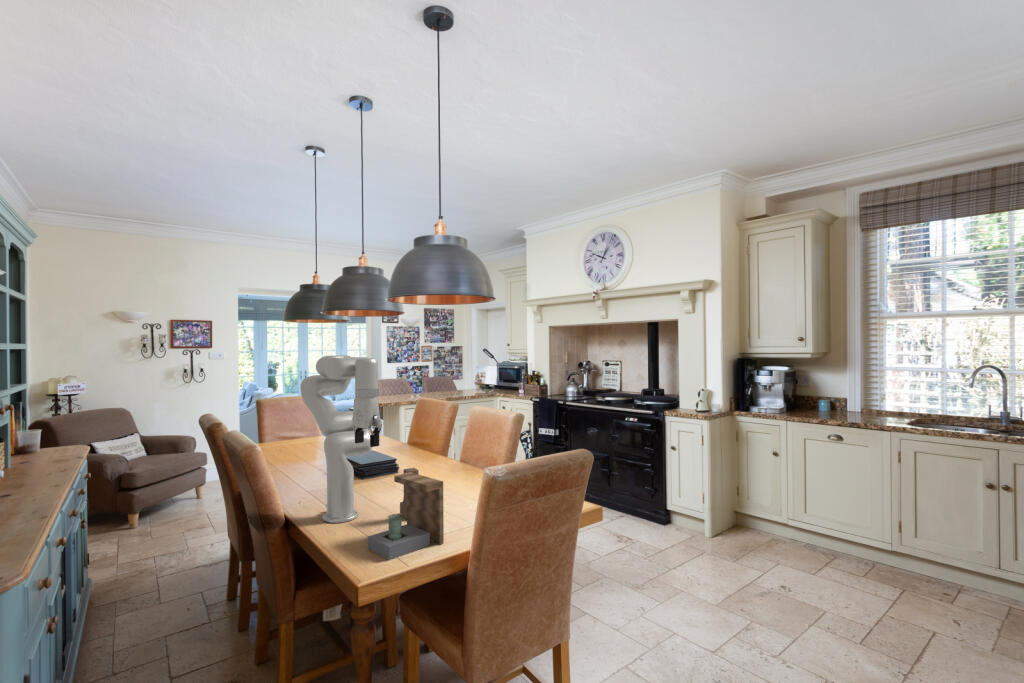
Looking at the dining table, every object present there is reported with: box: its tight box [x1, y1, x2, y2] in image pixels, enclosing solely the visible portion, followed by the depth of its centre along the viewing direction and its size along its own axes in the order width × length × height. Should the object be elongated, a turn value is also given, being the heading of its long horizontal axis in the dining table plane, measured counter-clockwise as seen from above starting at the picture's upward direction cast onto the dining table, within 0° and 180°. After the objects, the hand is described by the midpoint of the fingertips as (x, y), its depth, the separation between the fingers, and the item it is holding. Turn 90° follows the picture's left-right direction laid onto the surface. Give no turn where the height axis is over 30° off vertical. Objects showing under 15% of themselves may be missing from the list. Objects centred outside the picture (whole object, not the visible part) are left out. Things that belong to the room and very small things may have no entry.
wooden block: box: [399, 467, 420, 520], centre depth 190 cm, size 9×4×18 cm, turn 31°
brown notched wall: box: [393, 472, 445, 545], centre depth 168 cm, size 18×6×20 cm, turn 47°
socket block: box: [367, 523, 431, 561], centre depth 161 cm, size 12×15×4 cm
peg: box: [387, 514, 403, 541], centre depth 160 cm, size 4×4×10 cm
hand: (366, 444), depth 173 cm, fingers open, 9 cm apart
